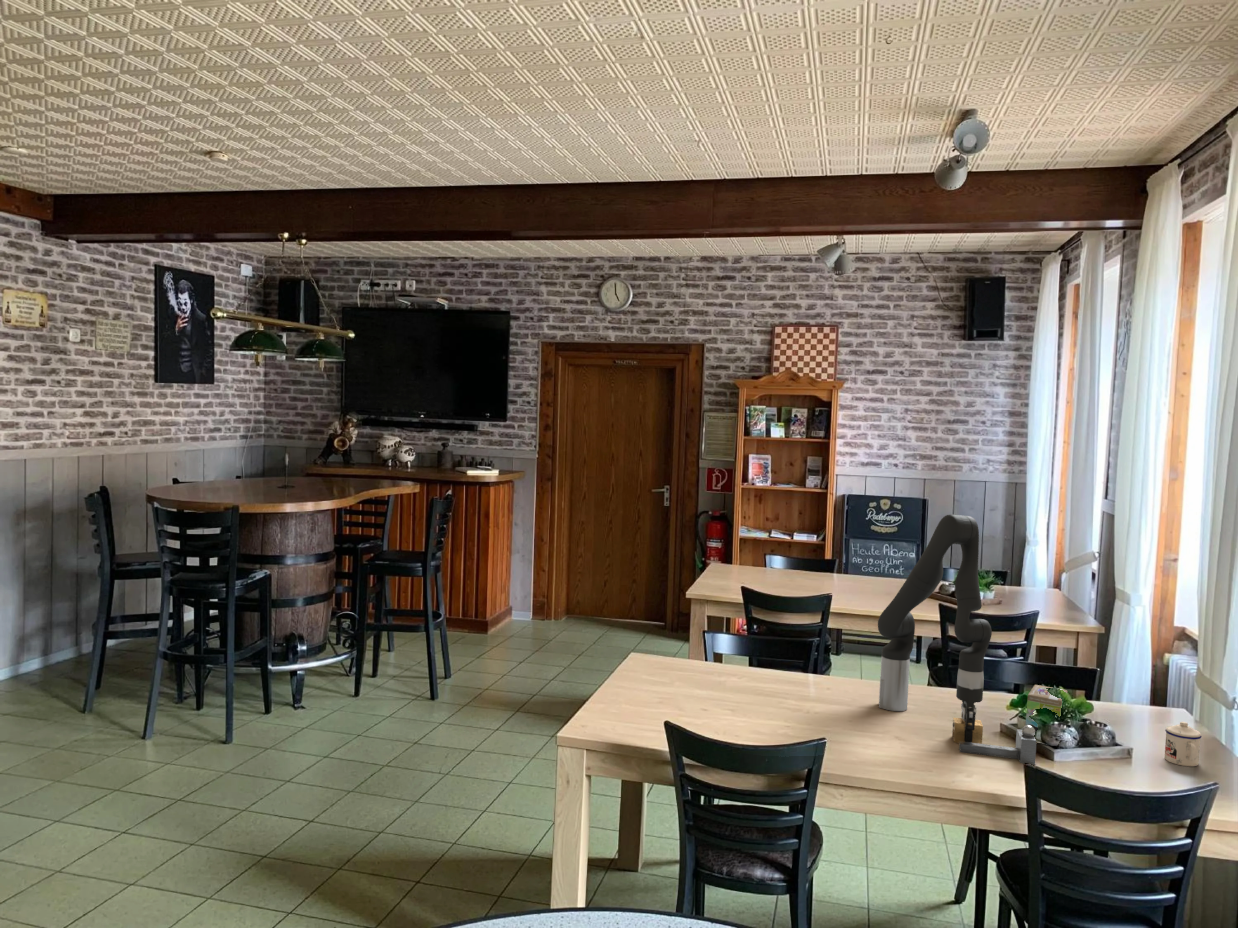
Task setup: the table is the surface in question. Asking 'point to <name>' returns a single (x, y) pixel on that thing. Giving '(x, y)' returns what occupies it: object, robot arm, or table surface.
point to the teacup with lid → (1182, 745)
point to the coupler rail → (1022, 751)
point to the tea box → (1041, 703)
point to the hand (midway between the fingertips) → (967, 738)
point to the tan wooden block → (960, 731)
